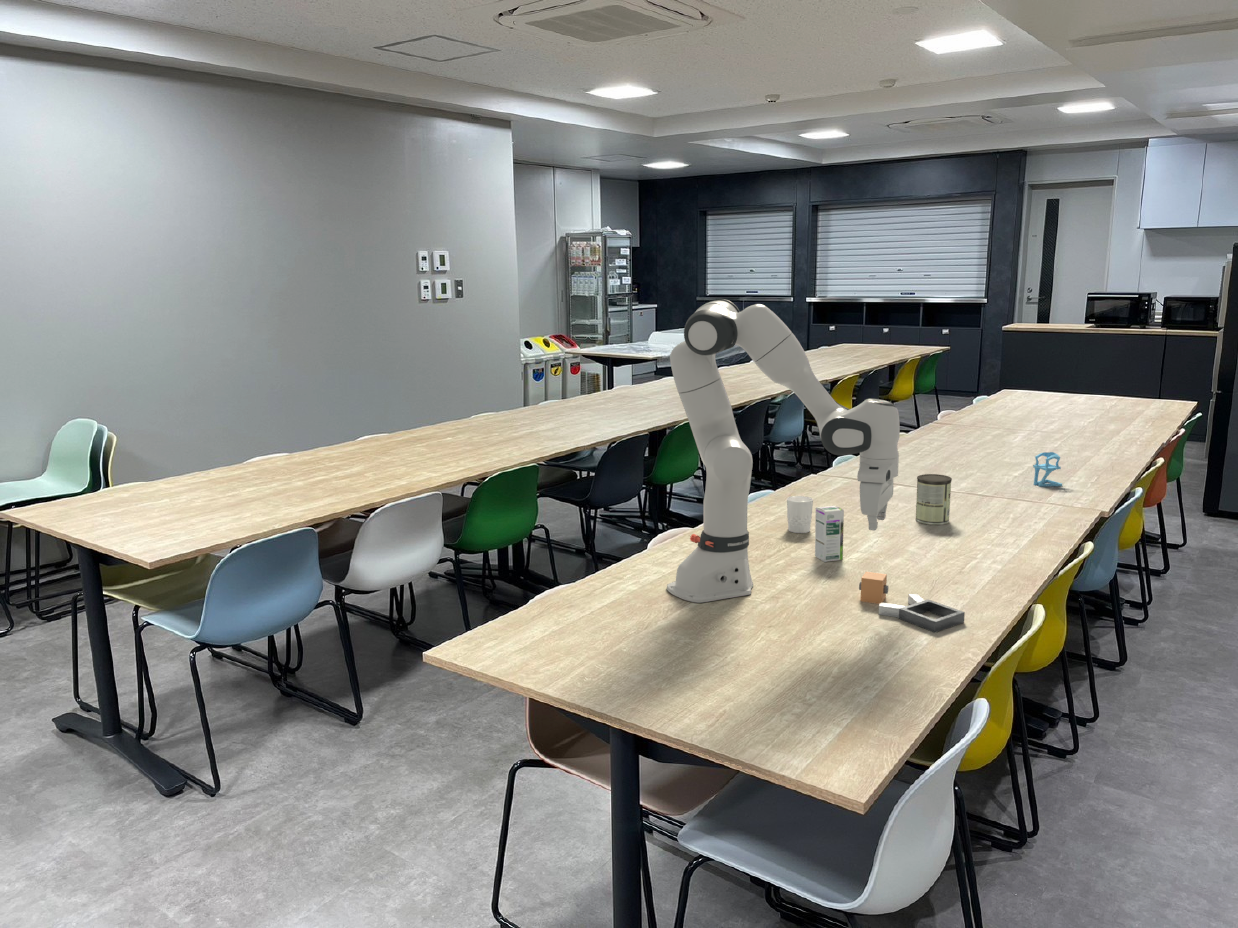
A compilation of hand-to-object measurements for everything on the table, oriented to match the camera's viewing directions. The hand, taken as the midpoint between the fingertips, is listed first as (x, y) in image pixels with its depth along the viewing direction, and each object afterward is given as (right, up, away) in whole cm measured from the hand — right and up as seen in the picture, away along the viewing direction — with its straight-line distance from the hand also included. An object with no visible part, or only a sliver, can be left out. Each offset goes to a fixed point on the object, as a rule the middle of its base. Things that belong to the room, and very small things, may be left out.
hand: (877, 524), depth 215 cm
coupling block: (0, -19, +4) cm, 19 cm away
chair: (+94, +7, +114) cm, 148 cm away
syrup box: (-3, -12, +36) cm, 38 cm away
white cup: (-6, -6, +63) cm, 64 cm away
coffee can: (+38, -4, +71) cm, 80 cm away
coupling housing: (+8, -21, -8) cm, 24 cm away
